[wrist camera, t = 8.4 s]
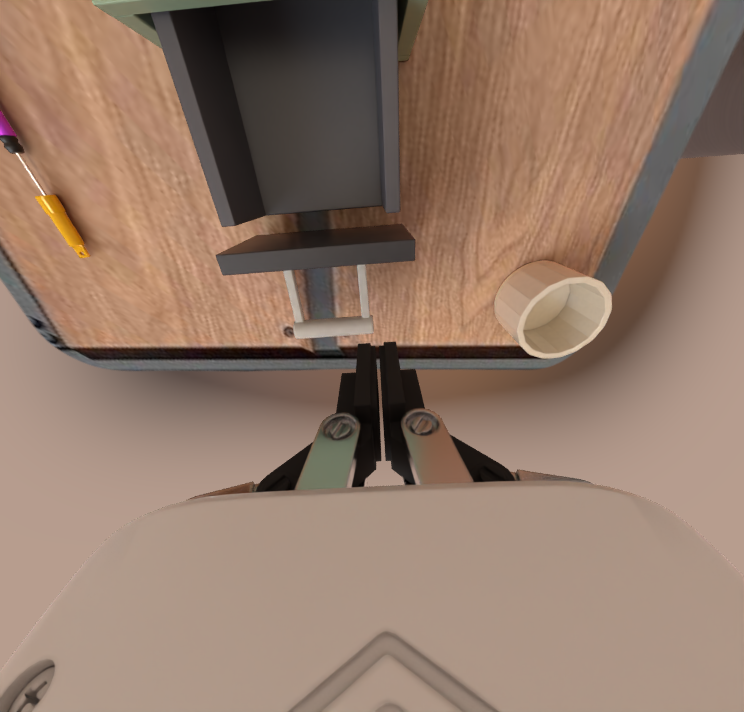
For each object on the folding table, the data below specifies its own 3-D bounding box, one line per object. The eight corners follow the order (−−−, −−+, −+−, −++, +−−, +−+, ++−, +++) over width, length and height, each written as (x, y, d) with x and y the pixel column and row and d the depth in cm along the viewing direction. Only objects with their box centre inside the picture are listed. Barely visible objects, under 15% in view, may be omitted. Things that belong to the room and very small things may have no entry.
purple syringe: (-125, -57, 14) (81, 256, 23) (-154, -75, 13) (72, 260, 22) (-62, -56, 15) (116, 251, 24) (-87, -73, 14) (109, 254, 23)
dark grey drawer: (403, 307, 25) (414, 345, 19) (278, 316, 25) (251, 356, 20) (399, -31, 15) (420, -169, 9) (188, -8, 15) (74, -128, 9)
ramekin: (581, 257, 24) (627, 273, 20) (558, 328, 28) (592, 355, 23) (500, 263, 24) (529, 280, 20) (488, 333, 28) (509, 361, 24)
